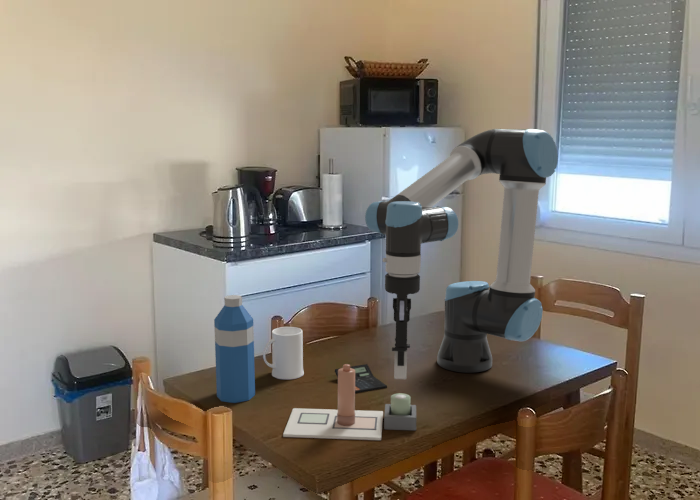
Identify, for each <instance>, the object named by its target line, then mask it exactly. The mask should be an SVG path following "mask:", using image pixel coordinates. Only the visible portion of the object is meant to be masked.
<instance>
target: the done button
mask: <svg viewBox="0 0 700 500" xmlns="http://www.w3.org/2000/svg"><path fill="white" fill-rule="evenodd" d="M411 398H412V397H411V395H409V394H407V393H400V392H398V393H394V394H392V395H390V404H391V415H410V405H412V404H411V402H412V401H411Z"/></svg>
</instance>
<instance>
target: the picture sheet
mask: <svg viewBox="0 0 700 500" xmlns="http://www.w3.org/2000/svg"><path fill="white" fill-rule="evenodd" d="M337 413H338V409H334V408H333V409H328V408H327V409H326V408H325V409H324V408H301V407H300V408H299V407H298V408H297V407H294V408H292V410H291V413H290V415H289V418H288V421H287V424H286V426H285V428H284V431H283V434H282V437H283V438H306V439H307V438H308V439H309V438H310V439H313V438H314V439H331V440H332V439H333V440H335V439H337V440H359V441H361V440H362V441H382V433H383V423H384V422H383V421H384V420H383V419H384V411H383V410H359V409H357V410H356V409H355V423H354V424H353V425H350V426H343V425H339V424H338V423H337Z"/></svg>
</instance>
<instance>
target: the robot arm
mask: <svg viewBox="0 0 700 500" xmlns="http://www.w3.org/2000/svg"><path fill="white" fill-rule="evenodd" d="M558 154H559V153H558V149H557V144H556V142H555V140H554V137H552V135H551V133H549V132H547V131H546V130H542V129H535V128H534V129H533V128H525V129H524V128H521V129H520V128H517V129H516V128H505V129H504V128H503V129H502V128H493V129H492V128H491V129H487V130H485V131H482V132H479V133H477V134H476V135H473V136H472V137H469V138H468V139H466V140H464V141H462V142H461V143H460V144H458V145H457V146H455V147H454V148H453V149H452V150H451V152H450V155H449V156H448V157H447V158H445V159H444V160H443V161H442V162H440V163H439V164H438V165H436V166H435V167H433V168H432V169H430V170H429V171H428V172H426V173H425V174H423V176H421V177H419V178H418V179H417V180H415V181H414V182H413V183H411V184H410V185H408V186H407V187H406V188H404V189H403V190H402V191H400V192H399V193H398V194H396V195H395V196H393V197H392V198H390V199H389V200H387V201H383V200H381V201H374V202H371V204H369V205H368V207H367V208H366V211H365V215H364V220H365V224H366V226H367V229H368V230H369V231H370V232H373V233H378V234H380V235H382V236H384V235H385V257H383V258H382V262H383V263H385V272H386V274H385V276H384V289H385V291H386V292H387V293H390V294H395V295H396V297H395V298H394V297H393V298H392V310H393V321H394V322H395V338H394V341H395V344H394V347H392V348H391V351H392V352H394V362H393V363H394V369H393V370H394V371H393V373H394V374H393V375H394V376H393V379H394V380H407V378H408V377H407V374H408V373H407V371H408V370H407V366H408V364H407V363H408V349H410V348H411V344H409V343H408V322H409V321H410V317H411V316H410V313H411V309H412V298H408V295H414V294H415V295H416V294H417V293H419V292H420V288H421V276H420V275H419V274H420V273H421V268H422V267H421V262H422V261H421V259H422V258H421V257H422V255H421V254H422V253H421V248H422V247H421V245H422V244H427V243H433V242H435V243H436V242H443V241H445V240H448V239H450V238H453V236H455V234H456V233H457V232H458V228H459V218H458V216H457V213H456V212H455V211H454V210H453V209H452V208H451V207H448V206H439V205H437V206H436V204H438V203H439V202H440V201H441V200H442V201H443V200H444V199H445V198H446V197H447V196H448V195H450V194H451V193H452V192H453V191H455V190H456V189H457V188H459V187H460V186H462V185H463V183H465V182H466V181H470V180H471V181H472V180H474V179H477V178H478V177H479V176H482V175H487V174H497V175H498V174H499V178H498V182H499V183H500V184H501V185H502V186H503V188H504V189H503V190H504V191H503V201H502V210H501V211H502V212H501V224H500V233H499V243H498V245H499V246H498V257H497V267H496V275H495V276H496V278H495V280H494V281H493V282H492V283H490V285H489V283H488V282H487V281H483V280H470V281H469V280H467V281H458V282H454V283H451V284H448V286H447V287H446V289H445V296H444V332H443V333H444V334H443V338H442V342H441V344H440V347H439V350H438V352H437V355H436V356H437V357H436V360H437V362H436V363H437V365H438V366H439V367H440V368H443V369H445V370H447V371H451V372H458V373H465V374H466V373H472V374H473V373H479V372H486V371H488V370H490V369H491V368H492V367H493V356H492V352H491V348H490V345H489V341H488V338H487V337H488V335H489V336H490V335H491V336H495V337H499V338H502V339H506V340H508V341H516V342H526V341H528V340H529V339H531V338H532V337H533V336H534V335H535V333H536V332H537V331H538V329H539V327H540V324H541V322H542V318H543V313H544V311H543V306H542V302H541V301H540V300H539V299H537V298H536V297H535V296H536V289H535V288H534V286H533V285H532V284H531V277H532V276H531V273H532V264H533V256H534V255H533V254H534V244H535V234H536V233H535V232H536V224H537V222H536V221H537V213H538V203H539V202H538V201H539V194H540V190H541V189H543V187H544V186H546V181H547V178H549V177H551V176H553V175H554V173H555V172H556V169H557V166H558V161H559V160H558V159H559V156H558ZM434 206H436V207H434Z"/></svg>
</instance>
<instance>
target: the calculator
mask: <svg viewBox="0 0 700 500" xmlns="http://www.w3.org/2000/svg"><path fill="white" fill-rule="evenodd" d="M350 368H352V369H355V394H360V393H365V392H371V391H377V390H383V389H387V388H388V386H387V385H386V384H385V383H384V382H382V381H381V380H380V379H378V378H377V377H376V376H375V375H374V374H373V373H372V371H371V369H370V367H369V365H368V363H364V364H359V365H353V366H350ZM339 369H340V368H336V369H335V368H334V373H335V376H336V377H337V378H338V370H339Z"/></svg>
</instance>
